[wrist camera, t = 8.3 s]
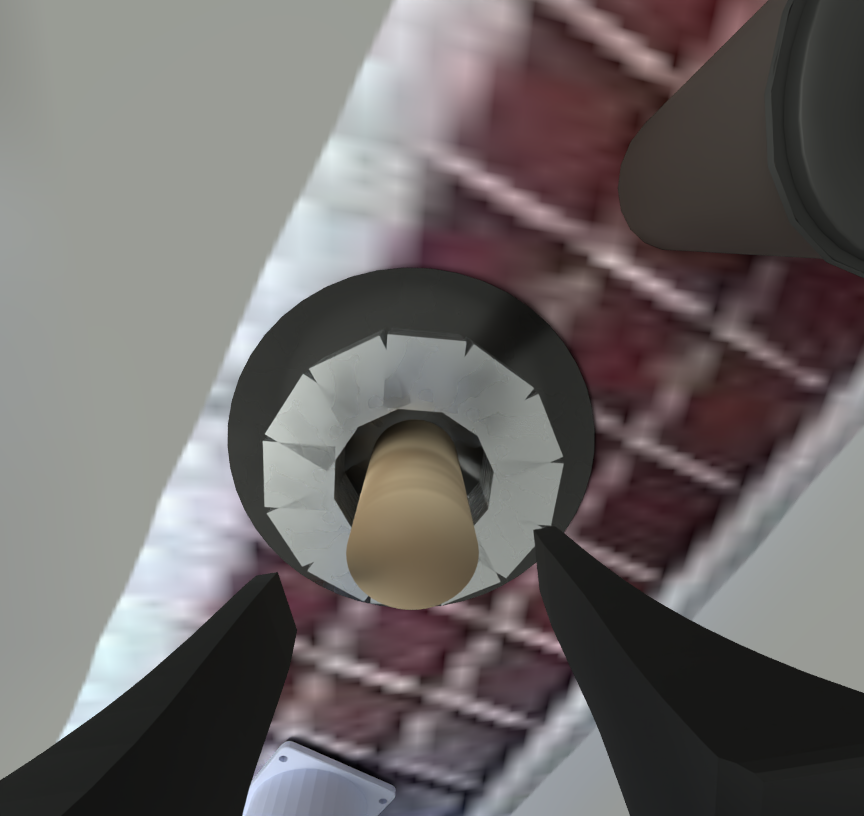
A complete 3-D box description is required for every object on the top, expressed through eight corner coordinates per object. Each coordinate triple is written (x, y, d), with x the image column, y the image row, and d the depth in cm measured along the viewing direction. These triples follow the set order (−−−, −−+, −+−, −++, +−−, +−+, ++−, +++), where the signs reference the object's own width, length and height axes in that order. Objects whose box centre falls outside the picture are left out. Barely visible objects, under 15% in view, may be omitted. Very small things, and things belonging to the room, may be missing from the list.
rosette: (452, 651, 23) (457, 700, 20) (166, 499, 19) (126, 533, 17) (666, 414, 19) (707, 435, 16) (359, 176, 16) (347, 153, 13)
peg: (425, 512, 20) (429, 629, 13) (355, 470, 19) (321, 571, 12) (474, 449, 19) (505, 539, 12) (402, 402, 18) (393, 472, 11)
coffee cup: (544, 223, 16) (722, 138, 7) (666, 6, 14) (1154, -538, 5) (698, 319, 18) (1027, 358, 8) (829, 132, 16) (1459, -102, 6)
